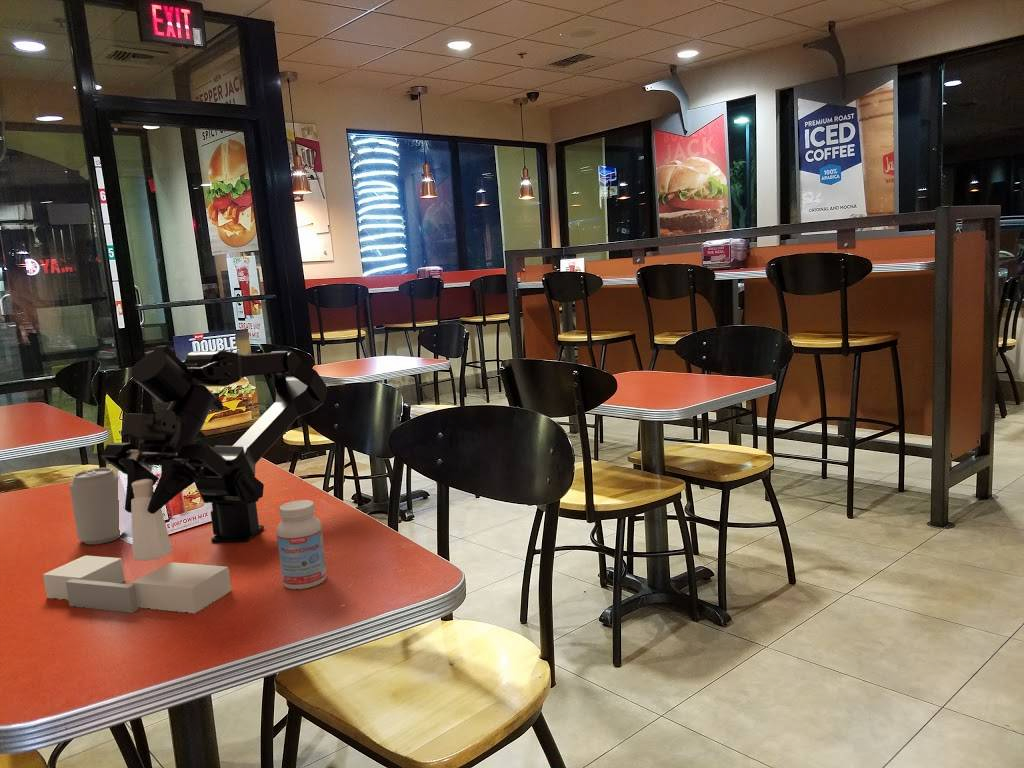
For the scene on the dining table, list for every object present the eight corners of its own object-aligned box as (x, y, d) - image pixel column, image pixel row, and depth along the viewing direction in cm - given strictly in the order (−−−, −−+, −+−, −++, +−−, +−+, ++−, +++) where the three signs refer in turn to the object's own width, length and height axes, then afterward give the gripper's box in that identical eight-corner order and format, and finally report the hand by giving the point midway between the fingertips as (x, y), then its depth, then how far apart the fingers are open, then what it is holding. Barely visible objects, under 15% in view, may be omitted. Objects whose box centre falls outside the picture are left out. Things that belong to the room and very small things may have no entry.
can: (91, 549, 126) (79, 479, 124) (71, 541, 131) (59, 474, 129) (135, 534, 132) (125, 468, 130) (115, 528, 137) (104, 463, 135)
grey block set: (231, 590, 105) (228, 566, 104) (186, 618, 97) (183, 593, 96) (88, 577, 113) (85, 555, 113) (37, 602, 106) (33, 578, 105)
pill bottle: (282, 594, 103) (272, 514, 101) (283, 577, 108) (274, 501, 107) (328, 586, 104) (319, 508, 102) (326, 570, 110) (318, 495, 108)
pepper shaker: (144, 563, 107) (132, 488, 105) (125, 557, 110) (113, 483, 108) (180, 550, 111) (170, 478, 109) (160, 544, 114) (150, 474, 112)
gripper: (101, 390, 113) (48, 483, 105) (202, 389, 107) (154, 487, 99) (149, 429, 122) (103, 518, 114) (245, 430, 116) (204, 524, 107)
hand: (138, 511), depth 108 cm, fingers closed on pepper shaker, 4 cm apart
